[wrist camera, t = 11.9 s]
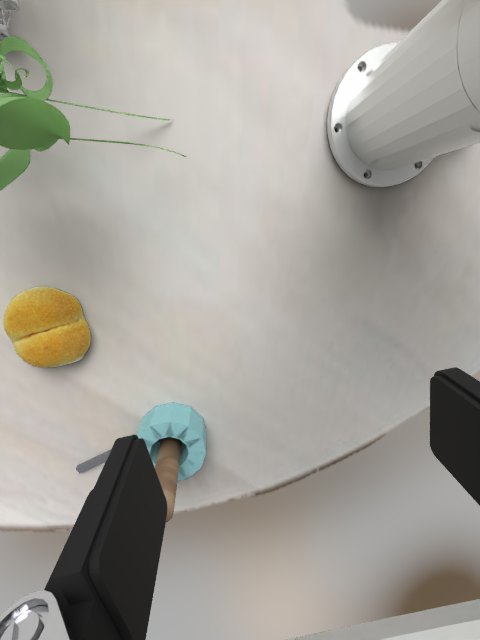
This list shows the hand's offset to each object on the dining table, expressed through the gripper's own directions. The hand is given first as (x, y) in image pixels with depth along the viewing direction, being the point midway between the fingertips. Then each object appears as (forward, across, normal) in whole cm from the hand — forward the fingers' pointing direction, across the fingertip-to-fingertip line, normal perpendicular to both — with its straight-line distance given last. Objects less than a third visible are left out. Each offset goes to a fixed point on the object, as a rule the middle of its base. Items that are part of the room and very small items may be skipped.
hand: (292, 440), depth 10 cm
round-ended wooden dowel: (+26, +12, +18) cm, 34 cm away
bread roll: (+27, +22, +1) cm, 34 cm away
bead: (+26, +12, +18) cm, 34 cm away
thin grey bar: (+26, +21, +19) cm, 38 cm away
